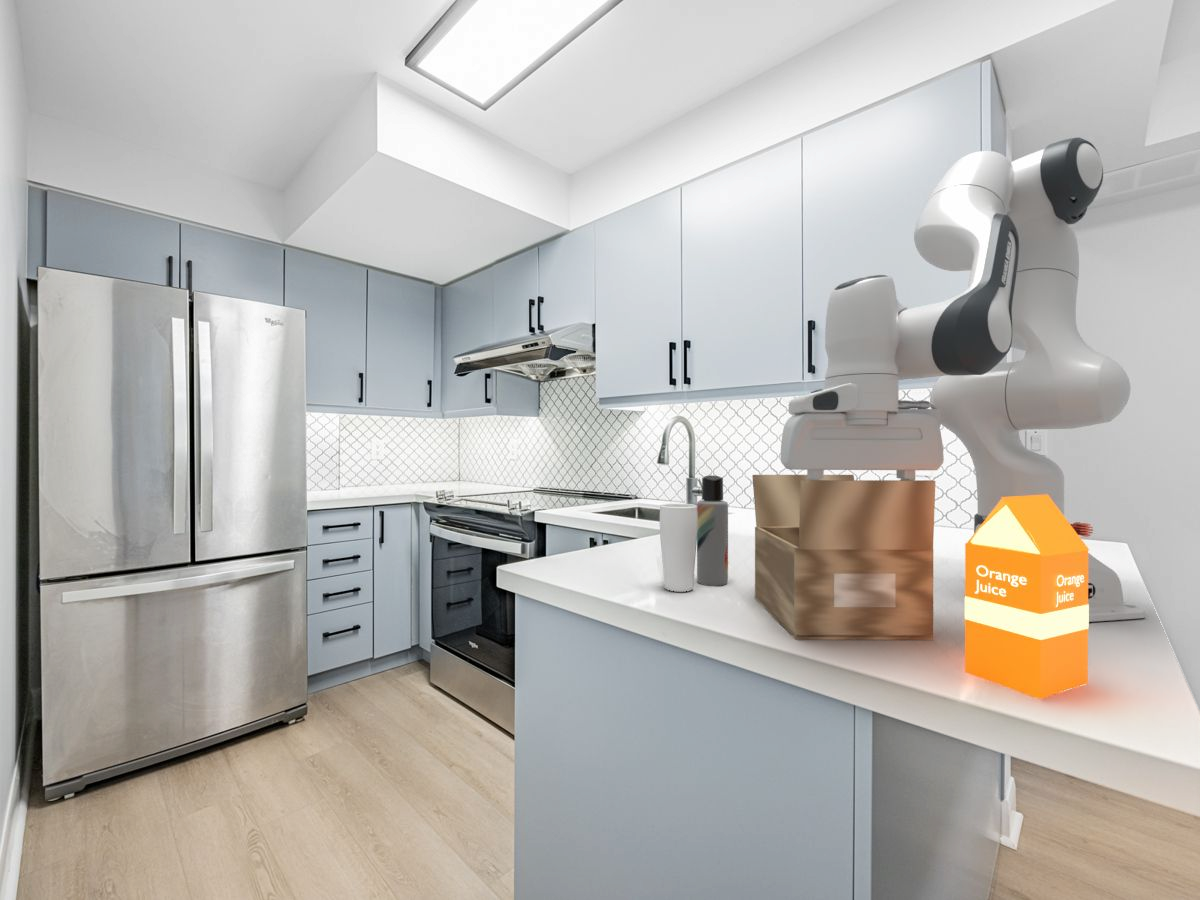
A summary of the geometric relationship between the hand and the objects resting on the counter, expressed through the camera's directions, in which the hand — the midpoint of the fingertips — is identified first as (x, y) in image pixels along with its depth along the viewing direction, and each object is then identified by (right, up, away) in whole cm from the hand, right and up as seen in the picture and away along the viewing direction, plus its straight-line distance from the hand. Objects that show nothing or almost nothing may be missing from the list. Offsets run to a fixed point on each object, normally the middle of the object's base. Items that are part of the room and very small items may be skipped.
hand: (860, 504), depth 73 cm
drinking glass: (-20, -18, +26) cm, 37 cm away
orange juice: (+12, -18, -13) cm, 25 cm away
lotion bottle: (-13, -18, +31) cm, 38 cm away
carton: (+1, -18, +10) cm, 20 cm away
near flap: (0, -1, -1) cm, 1 cm away
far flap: (+1, -1, +21) cm, 21 cm away
